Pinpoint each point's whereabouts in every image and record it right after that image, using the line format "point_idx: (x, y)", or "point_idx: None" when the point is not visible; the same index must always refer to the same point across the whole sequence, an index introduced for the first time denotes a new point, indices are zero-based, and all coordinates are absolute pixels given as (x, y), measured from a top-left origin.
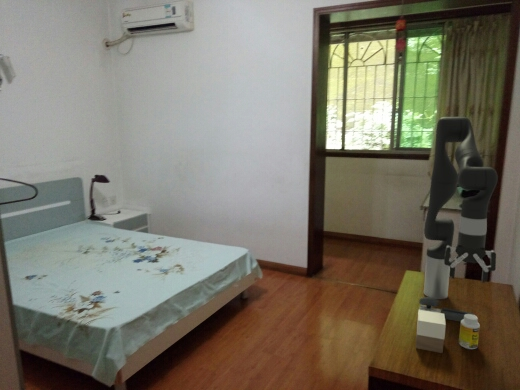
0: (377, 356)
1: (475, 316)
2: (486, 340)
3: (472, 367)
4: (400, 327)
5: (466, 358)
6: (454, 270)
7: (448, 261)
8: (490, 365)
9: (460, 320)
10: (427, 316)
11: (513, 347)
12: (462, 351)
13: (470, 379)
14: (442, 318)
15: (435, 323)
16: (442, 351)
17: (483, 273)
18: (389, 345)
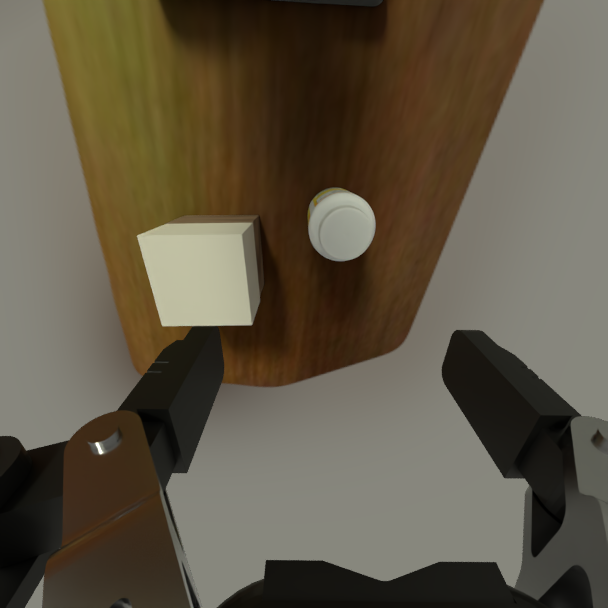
0: (129, 349)
1: (365, 226)
2: (396, 154)
3: (328, 318)
4: (125, 173)
5: (320, 286)
6: (191, 448)
7: (29, 590)
8: (371, 296)
9: (328, 2)
10: (184, 285)
11: (469, 171)
12: (313, 255)
13: (318, 359)
14: (238, 281)
15: (219, 324)
16: (263, 285)
17: (496, 459)
18: (135, 296)
